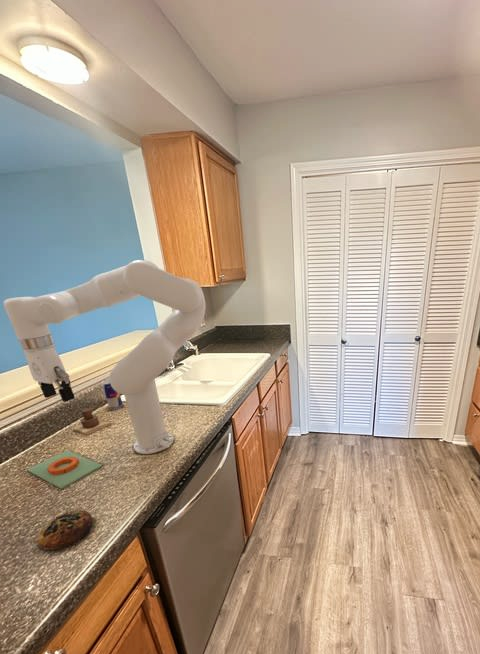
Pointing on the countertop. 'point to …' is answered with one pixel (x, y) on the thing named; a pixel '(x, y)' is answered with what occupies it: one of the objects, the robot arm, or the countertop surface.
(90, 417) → the post stand
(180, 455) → the countertop surface
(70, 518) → the bread roll
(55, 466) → the ring
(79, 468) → the mat
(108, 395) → the energy drink
